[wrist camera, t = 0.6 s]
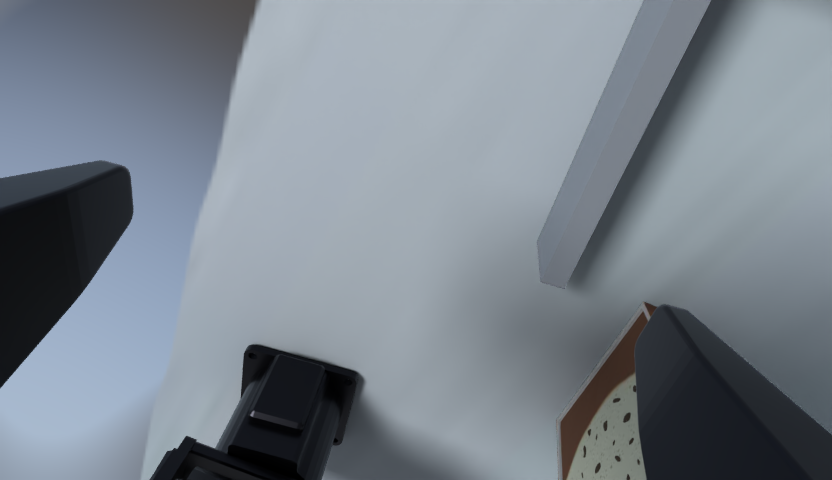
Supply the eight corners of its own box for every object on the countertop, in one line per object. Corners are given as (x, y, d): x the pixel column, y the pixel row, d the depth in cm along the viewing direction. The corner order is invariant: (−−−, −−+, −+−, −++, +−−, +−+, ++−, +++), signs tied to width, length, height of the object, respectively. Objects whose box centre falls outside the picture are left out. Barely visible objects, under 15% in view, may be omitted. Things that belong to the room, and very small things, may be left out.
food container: (643, 466, 32) (691, 672, 24) (544, 435, 31) (558, 632, 23) (784, 320, 25) (922, 538, 17) (660, 277, 25) (737, 478, 16)
